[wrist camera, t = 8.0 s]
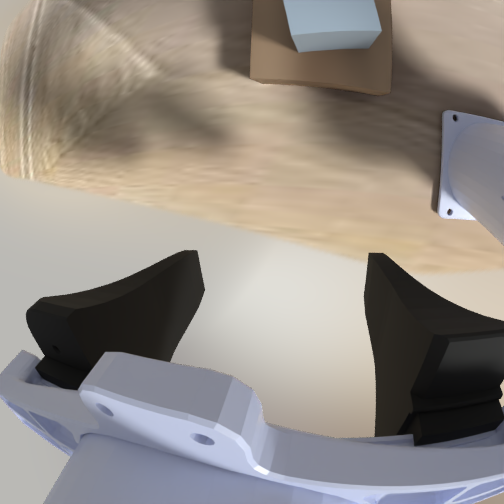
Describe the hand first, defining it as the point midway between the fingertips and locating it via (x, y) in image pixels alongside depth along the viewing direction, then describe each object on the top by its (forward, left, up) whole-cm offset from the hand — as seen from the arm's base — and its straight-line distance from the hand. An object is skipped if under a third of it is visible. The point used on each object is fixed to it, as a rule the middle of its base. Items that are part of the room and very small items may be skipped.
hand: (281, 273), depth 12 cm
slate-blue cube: (-3, -12, -7) cm, 14 cm away
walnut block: (-2, -12, -11) cm, 16 cm away
